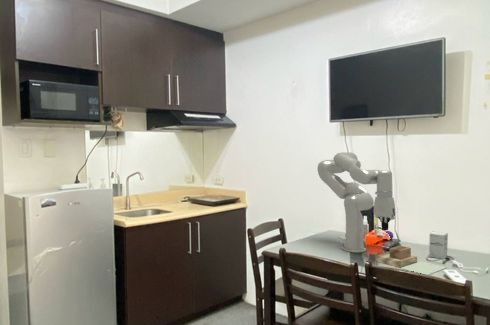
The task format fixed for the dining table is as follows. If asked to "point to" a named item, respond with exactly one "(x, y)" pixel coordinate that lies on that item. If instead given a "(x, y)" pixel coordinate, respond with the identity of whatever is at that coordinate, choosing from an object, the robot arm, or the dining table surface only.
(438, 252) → the supplement box
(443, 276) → the dining table surface
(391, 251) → the brown wooden block
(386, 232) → the kendama
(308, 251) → the dining table surface
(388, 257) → the birch deck
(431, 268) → the sage mat
